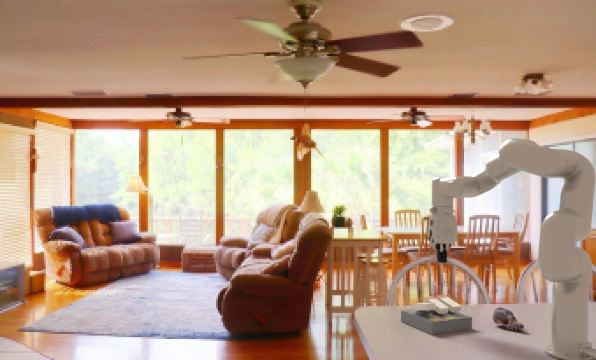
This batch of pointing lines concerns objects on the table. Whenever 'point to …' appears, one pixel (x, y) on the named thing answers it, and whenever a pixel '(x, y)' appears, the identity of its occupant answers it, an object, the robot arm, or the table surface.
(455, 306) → the rocker
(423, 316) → the switch unit
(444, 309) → the rocker
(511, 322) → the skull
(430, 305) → the block
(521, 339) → the table surface
